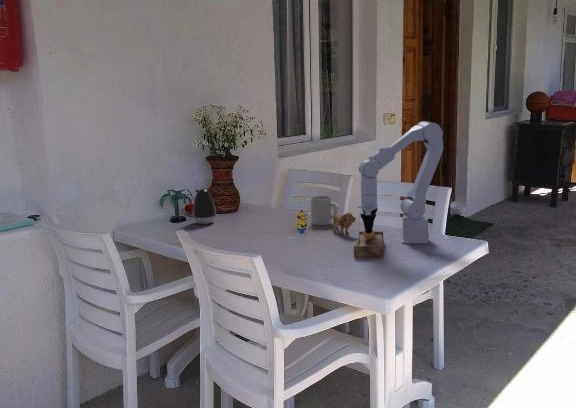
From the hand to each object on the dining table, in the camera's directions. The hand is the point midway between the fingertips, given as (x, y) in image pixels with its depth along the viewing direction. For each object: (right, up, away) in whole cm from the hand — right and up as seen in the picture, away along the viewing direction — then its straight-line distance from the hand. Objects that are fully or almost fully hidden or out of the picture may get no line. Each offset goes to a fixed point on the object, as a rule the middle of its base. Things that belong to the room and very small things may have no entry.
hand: (369, 230), depth 216 cm
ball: (0, -1, -2) cm, 2 cm away
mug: (-14, +1, +35) cm, 38 cm away
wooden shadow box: (-1, -7, -6) cm, 9 cm away
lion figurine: (-8, -2, +19) cm, 21 cm away
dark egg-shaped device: (-66, +1, +44) cm, 80 cm away
